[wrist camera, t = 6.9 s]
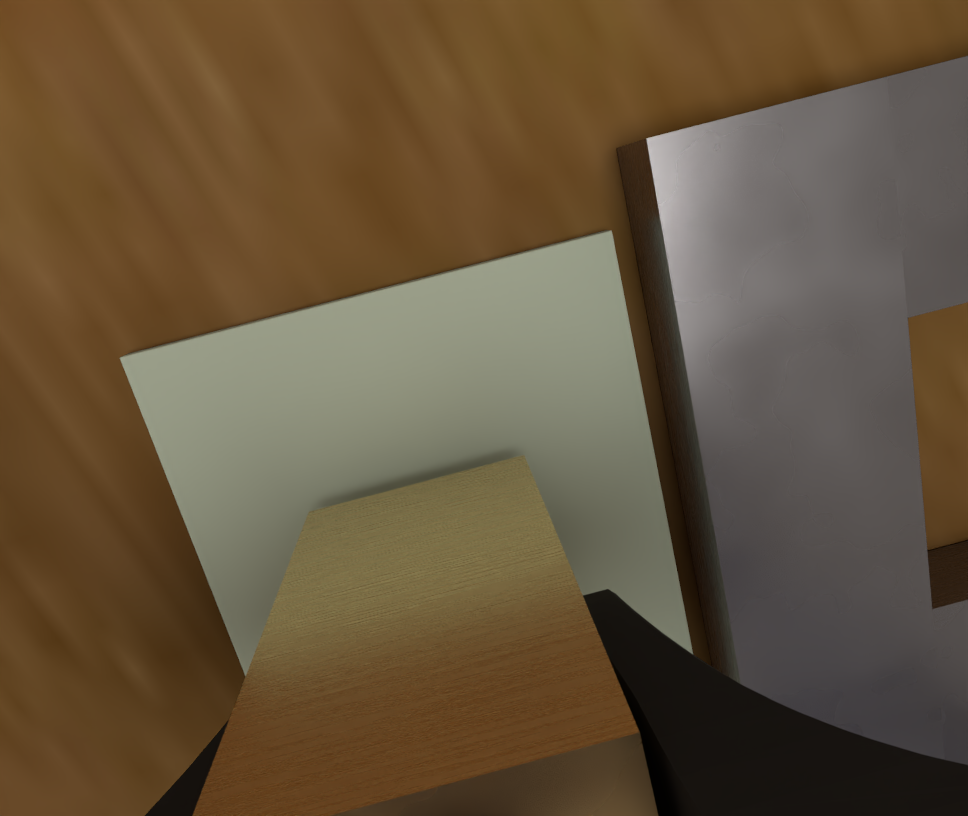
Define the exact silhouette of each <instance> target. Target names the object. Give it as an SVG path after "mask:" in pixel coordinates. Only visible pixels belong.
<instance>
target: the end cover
mask: <svg viewBox="0 0 968 816" xmlns="http://www.w3.org/2000/svg"><path fill="white" fill-rule="evenodd" d="M192 816H658V811H657V807H656V803H655V798H654V794H653V789H652V785H651V781H650V776H649V772H648V767H647V763H646V758H645V754H644V750H643V745H642V741H641V736H640V732H639V730H638V727H637V725H636V723H635V720H634V718H633V715H632V713H631V711H630V708H629V706H628V703H627V701H626V699H625V696H624V694H623V691H622V689H621V686H620V684H619V682H618V679H617V677H616V674H615V672H614V670H613V667H612V665H611V662H610V660H609V658H608V655H607V653H606V650H605V648H604V646H603V643H602V641H601V638H600V636H599V634H598V631H597V629H596V626H595V624H594V622H593V619H592V617H591V614H590V612H589V610H588V607H587V605H586V602H585V600H584V598H583V595H582V593H581V590H580V588H579V586H578V583H577V581H576V578H575V576H574V574H573V571H572V569H571V566H570V564H569V562H568V559H567V557H566V554H565V552H564V549H563V547H562V545H561V542H560V540H559V537H558V535H557V533H556V530H555V528H554V525H553V523H552V521H551V518H550V516H549V513H548V511H547V509H546V506H545V504H544V501H543V499H542V497H541V494H540V492H539V489H538V487H537V485H536V482H535V480H534V477H533V475H532V473H531V470H530V468H529V465H528V463H527V461H526V458H525V456H524V455H522V456H518V457H515V458H511V459H507V460H503V461H499V462H496V463H492V464H488V465H484V466H480V467H477V468H473V469H469V470H465V471H462V472H458V473H454V474H450V475H446V476H443V477H439V478H435V479H431V480H427V481H424V482H420V483H416V484H412V485H408V486H405V487H401V488H397V489H393V490H389V491H386V492H382V493H378V494H374V495H371V496H367V497H363V498H359V499H355V500H352V501H348V502H344V503H340V504H336V505H333V506H329V507H325V508H321V509H317V510H314V511H310V512H308V515H307V518H306V520H305V523H304V525H303V528H302V531H301V533H300V536H299V538H298V541H297V544H296V546H295V549H294V552H293V554H292V557H291V559H290V562H289V565H288V567H287V570H286V572H285V575H284V578H283V580H282V583H281V586H280V588H279V591H278V593H277V596H276V599H275V601H274V604H273V606H272V609H271V612H270V614H269V617H268V619H267V622H266V625H265V627H264V630H263V633H262V635H261V638H260V640H259V643H258V646H257V648H256V651H255V653H254V656H253V659H252V661H251V664H250V667H249V669H248V672H247V674H246V677H245V680H244V682H243V685H242V687H241V690H240V693H239V695H238V698H237V700H236V703H235V706H234V708H233V711H232V714H231V716H230V719H229V721H228V724H227V727H226V729H225V732H224V734H223V737H222V740H221V742H220V745H219V748H218V750H217V753H216V755H215V758H214V761H213V763H212V766H211V768H210V771H209V774H208V776H207V779H206V781H205V784H204V787H203V789H202V792H201V795H200V797H199V800H198V802H197V805H196V808H195V810H194V813H193V815H192Z"/></svg>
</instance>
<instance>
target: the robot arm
mask: <svg viewBox="0 0 968 816" xmlns="http://www.w3.org/2000/svg"><path fill="white" fill-rule="evenodd" d="M583 598H584V600H585V602H586V605H587V607H588V610H589V612H590V614H591V617H592V619H593V622H594V624H595V626H596V629H597V631H598V634H599V636H600V638H601V641H602V643H603V646H604V648H605V650H606V653H607V655H608V658H609V660H610V662H611V665H612V667H613V670H614V672H615V674H616V677H617V679H618V682H619V684H620V686H621V689H622V691H623V694H624V696H625V699H626V701H627V703H628V706H629V708H630V711H631V713H632V715H633V718H634V720H635V723H636V725H637V727H638V730H639V732H640V736H641V741H642V745H643V750H644V754H645V758H646V763H647V767H648V772H649V776H650V781H651V785H652V789H653V794H654V798H655V803H656V807H657V811H658V816H968V765H966V764H962V763H957V762H953V761H948V760H944V759H939V758H935V757H931V756H927V755H923V754H920V753H916V752H913V751H909V750H906V749H903V748H899V747H896V746H893V745H889V744H886V743H883V742H879V741H876V740H873V739H870V738H867V737H864V736H861V735H858V734H855V733H852V732H849V731H846V730H843V729H841V728H838V727H836V726H833V725H830V724H828V723H825V722H823V721H820V720H818V719H815V718H813V717H810V716H808V715H805V714H803V713H800V712H798V711H796V710H793V709H791V708H789V707H786V706H784V705H782V704H780V703H778V702H775V701H773V700H771V699H769V698H767V697H765V696H763V695H761V694H759V693H757V692H755V691H753V690H751V689H749V688H747V687H745V686H743V685H742V684H740V683H738V682H736V681H735V680H733V679H731V678H730V677H728V676H726V675H724V674H723V673H721V672H720V671H718V670H716V669H715V668H713V667H712V666H710V665H708V664H707V663H705V662H704V661H702V660H701V659H699V658H698V657H696V656H695V655H693V654H692V653H690V652H689V651H687V650H686V649H684V648H683V647H682V646H680V645H679V644H677V643H676V642H675V641H673V640H672V639H670V638H669V637H668V636H666V635H665V634H664V633H662V632H661V631H660V630H658V629H657V628H656V627H654V626H653V625H652V624H651V623H649V622H648V621H647V620H646V619H644V618H643V617H642V616H641V615H639V614H638V613H637V612H636V611H635V610H634V609H632V608H631V607H630V606H629V605H628V604H627V603H626V602H624V601H623V600H622V599H621V598H620V597H619V596H618V595H617V594H616V593H614V592H612V591H611V590H609V589H606V590H602V591H598V592H594V593H590V594H587V595H583ZM228 721H229V720H228ZM227 724H228V722H227V723H226V724H225V725H224V726H223V728H222V729H221V730H220V731H219V732H218V734H217V735H216V736H215V737H214V738H213V739H212V741H211V742H210V743H209V744H208V745H207V747H206V748H205V749H204V750H203V751H202V752H201V754H200V755H199V756H198V757H197V758H196V760H195V761H194V762H193V763H192V764H191V765H190V767H189V768H188V769H187V770H186V771H185V772H184V774H183V775H182V776H181V777H180V778H179V779H178V780H177V781H176V782H175V783H174V784H173V786H172V787H171V788H170V789H169V790H168V791H167V792H166V793H165V794H164V795H163V796H162V798H161V799H160V800H159V801H158V802H157V803H156V804H155V805H154V806H153V807H152V809H151V810H150V811H149V812H148V813H147V814H146V815H145V816H192V815H193V813H194V810H195V808H196V805H197V802H198V800H199V797H200V795H201V792H202V789H203V787H204V784H205V781H206V779H207V776H208V774H209V771H210V768H211V766H212V763H213V761H214V758H215V755H216V753H217V750H218V748H219V745H220V742H221V740H222V737H223V734H224V732H225V729H226V727H227Z"/></svg>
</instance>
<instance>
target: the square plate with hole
mask: <svg viewBox="0 0 968 816" xmlns="http://www.w3.org/2000/svg"><path fill="white" fill-rule="evenodd" d="M617 154H618V159H619V165H620V170H621V175H622V181H623V186H624V192H625V197H626V202H627V208H628V213H629V219H630V224H631V230H632V235H633V240H634V246H635V251H636V257H637V262H638V267H639V273H640V278H641V284H642V289H643V294H644V300H645V305H646V311H647V316H648V322H649V327H650V332H651V338H652V343H653V349H654V354H655V359H656V365H657V370H658V376H659V381H660V386H661V392H662V397H663V403H664V408H665V413H666V419H667V424H668V430H669V435H670V441H671V446H672V451H673V457H674V462H675V468H676V473H677V478H678V484H679V489H680V495H681V500H682V505H683V511H684V516H685V522H686V527H687V533H688V538H689V543H690V549H691V554H692V560H693V565H694V570H695V576H696V581H697V587H698V592H699V597H700V603H701V608H702V614H703V619H704V625H705V630H706V635H707V641H708V646H709V652H710V657H711V662H712V667H713V668H715V669H716V670H718V671H720V672H721V673H723V674H724V675H726V676H728V677H730V678H731V679H733V680H735V681H736V682H738V683H740V684H742V685H743V686H745V687H747V688H749V689H751V690H753V691H755V692H757V693H759V694H761V695H763V696H765V697H767V698H769V699H771V700H773V701H775V702H778V703H780V704H782V705H784V706H786V707H789V708H791V709H793V710H796V711H798V712H800V713H803V714H805V715H808V716H810V717H813V718H815V719H818V720H820V721H823V722H825V723H828V724H830V725H833V726H836V727H838V728H841V729H843V730H846V731H849V732H852V733H855V734H858V735H861V736H864V737H867V738H870V739H873V740H876V741H879V742H883V743H886V744H889V745H893V746H896V747H899V748H903V749H906V750H909V751H913V752H916V753H920V754H923V755H927V756H931V757H935V758H939V759H944V760H948V761H953V762H957V763H962V764H966V765H968V541H965V542H961V543H957V544H954V545H950V546H946V547H942V548H938V549H935V550H931V551H927V541H926V530H925V518H924V506H923V494H922V482H921V471H920V459H919V447H918V435H917V423H916V411H915V400H914V388H913V376H912V364H911V352H910V341H909V329H908V318H909V317H912V316H916V315H920V314H924V313H928V312H932V311H935V310H939V309H943V308H947V307H951V306H954V305H958V304H962V303H966V302H968V56H966V57H962V58H958V59H954V60H950V61H946V62H942V63H938V64H934V65H931V66H927V67H923V68H919V69H915V70H911V71H907V72H903V73H899V74H895V75H892V76H888V77H884V78H880V79H876V80H872V81H868V82H864V83H860V84H856V85H853V86H849V87H845V88H841V89H837V90H833V91H829V92H825V93H821V94H818V95H814V96H810V97H806V98H802V99H798V100H794V101H790V102H786V103H782V104H779V105H775V106H771V107H767V108H763V109H759V110H755V111H751V112H747V113H743V114H740V115H736V116H732V117H728V118H724V119H720V120H716V121H712V122H708V123H705V124H701V125H697V126H693V127H689V128H685V129H681V130H677V131H673V132H669V133H666V134H662V135H658V136H654V137H650V138H646V139H643V140H640V141H637V142H634V143H631V144H628V145H625V146H622V147H619V148H617Z"/></svg>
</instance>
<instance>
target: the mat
mask: <svg viewBox="0 0 968 816" xmlns="http://www.w3.org/2000/svg"><path fill="white" fill-rule="evenodd" d="M120 360H121V362H122V365H123V367H124V370H125V372H126V375H127V377H128V380H129V382H130V385H131V388H132V390H133V393H134V395H135V398H136V400H137V403H138V405H139V408H140V410H141V413H142V415H143V418H144V420H145V423H146V426H147V428H148V431H149V433H150V436H151V438H152V441H153V443H154V446H155V448H156V451H157V453H158V456H159V458H160V461H161V464H162V466H163V469H164V471H165V474H166V476H167V479H168V481H169V484H170V486H171V489H172V491H173V494H174V497H175V499H176V502H177V504H178V507H179V509H180V512H181V514H182V517H183V519H184V522H185V524H186V527H187V529H188V532H189V535H190V537H191V540H192V542H193V545H194V547H195V550H196V552H197V555H198V557H199V560H200V562H201V565H202V567H203V570H204V573H205V575H206V578H207V580H208V583H209V585H210V588H211V590H212V593H213V595H214V598H215V600H216V603H217V605H218V608H219V611H220V613H221V616H222V618H223V621H224V623H225V626H226V628H227V631H228V633H229V636H230V638H231V641H232V644H233V646H234V649H235V651H236V654H237V656H238V659H239V661H240V664H241V666H242V669H243V671H244V674H245V676H246V674H247V672H248V669H249V667H250V664H251V661H252V659H253V656H254V653H255V651H256V648H257V646H258V643H259V640H260V638H261V635H262V633H263V630H264V627H265V625H266V622H267V619H268V617H269V614H270V612H271V609H272V606H273V604H274V601H275V599H276V596H277V593H278V591H279V588H280V586H281V583H282V580H283V578H284V575H285V572H286V570H287V567H288V565H289V562H290V559H291V557H292V554H293V552H294V549H295V546H296V544H297V541H298V538H299V536H300V533H301V531H302V528H303V525H304V523H305V520H306V518H307V515H308V512H310V511H314V510H317V509H321V508H325V507H329V506H333V505H336V504H340V503H344V502H348V501H352V500H355V499H359V498H363V497H367V496H371V495H374V494H378V493H382V492H386V491H389V490H393V489H397V488H401V487H405V486H408V485H412V484H416V483H420V482H424V481H427V480H431V479H435V478H439V477H443V476H446V475H450V474H454V473H458V472H462V471H465V470H469V469H473V468H477V467H480V466H484V465H488V464H492V463H496V462H499V461H503V460H507V459H511V458H515V457H518V456H522V455H524V456H525V458H526V461H527V463H528V465H529V468H530V470H531V473H532V475H533V477H534V480H535V482H536V485H537V487H538V489H539V492H540V494H541V497H542V499H543V501H544V504H545V506H546V509H547V511H548V513H549V516H550V518H551V521H552V523H553V525H554V528H555V530H556V533H557V535H558V537H559V540H560V542H561V545H562V547H563V549H564V552H565V554H566V557H567V559H568V562H569V564H570V566H571V569H572V571H573V574H574V576H575V578H576V581H577V583H578V586H579V588H580V590H581V593H582V595H587V594H590V593H594V592H598V591H602V590H606V589H609V590H611V591H612V592H614V593H616V594H617V595H618V596H619V597H620V598H621V599H622V600H623V601H624V602H626V603H627V604H628V605H629V606H630V607H631V608H632V609H634V610H635V611H636V612H637V613H638V614H639V615H641V616H642V617H643V618H644V619H646V620H647V621H648V622H649V623H651V624H652V625H653V626H654V627H656V628H657V629H658V630H660V631H661V632H662V633H664V634H665V635H666V636H668V637H669V638H670V639H672V640H673V641H675V642H676V643H677V644H679V645H680V646H682V647H683V648H684V649H686V650H687V651H689V652H690V653H692V654H693V651H692V646H691V641H690V635H689V630H688V625H687V620H686V615H685V609H684V604H683V599H682V594H681V589H680V583H679V578H678V573H677V568H676V563H675V557H674V552H673V547H672V542H671V537H670V531H669V526H668V521H667V516H666V511H665V505H664V500H663V495H662V490H661V485H660V479H659V474H658V469H657V464H656V459H655V453H654V448H653V443H652V438H651V433H650V427H649V422H648V417H647V412H646V407H645V401H644V396H643V391H642V386H641V381H640V375H639V370H638V365H637V360H636V355H635V349H634V344H633V339H632V334H631V329H630V323H629V318H628V313H627V308H626V303H625V297H624V292H623V287H622V282H621V277H620V271H619V266H618V261H617V256H616V251H615V245H614V240H613V235H612V231H610V230H606V231H602V232H598V233H594V234H590V235H586V236H582V237H578V238H575V239H571V240H567V241H563V242H559V243H555V244H551V245H548V246H544V247H540V248H536V249H532V250H528V251H524V252H520V253H517V254H513V255H509V256H505V257H501V258H497V259H493V260H489V261H486V262H482V263H478V264H474V265H470V266H466V267H462V268H458V269H455V270H451V271H447V272H443V273H439V274H435V275H431V276H427V277H424V278H420V279H416V280H412V281H408V282H404V283H400V284H396V285H393V286H389V287H385V288H381V289H377V290H373V291H369V292H365V293H362V294H358V295H354V296H350V297H346V298H342V299H338V300H335V301H331V302H327V303H323V304H319V305H315V306H311V307H307V308H304V309H300V310H296V311H292V312H288V313H284V314H280V315H276V316H273V317H269V318H265V319H261V320H257V321H253V322H249V323H245V324H242V325H238V326H234V327H230V328H226V329H222V330H218V331H214V332H211V333H207V334H203V335H199V336H195V337H191V338H187V339H183V340H180V341H176V342H172V343H168V344H164V345H160V346H156V347H152V348H149V349H145V350H141V351H137V352H133V353H129V354H126V355H124V356H122V357H120Z"/></svg>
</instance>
